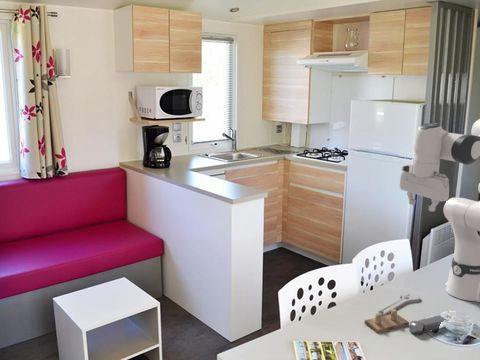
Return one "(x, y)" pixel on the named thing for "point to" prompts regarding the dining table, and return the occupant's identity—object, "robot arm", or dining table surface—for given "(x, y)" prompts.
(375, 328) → the peg rack
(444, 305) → the dining table surface
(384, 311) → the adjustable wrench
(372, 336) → the dining table surface
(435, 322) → the gray flashlight
